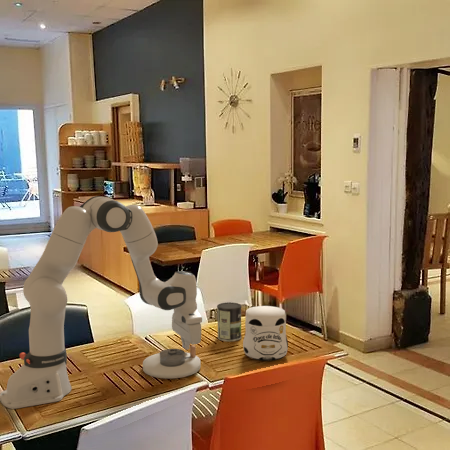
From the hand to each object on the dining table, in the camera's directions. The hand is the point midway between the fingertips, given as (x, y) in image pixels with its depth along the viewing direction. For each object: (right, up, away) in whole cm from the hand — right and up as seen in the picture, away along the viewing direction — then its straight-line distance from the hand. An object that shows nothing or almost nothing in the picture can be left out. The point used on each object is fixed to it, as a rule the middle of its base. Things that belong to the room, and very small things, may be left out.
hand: (185, 348), depth 220 cm
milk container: (+31, -4, +3) cm, 31 cm away
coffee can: (+17, -1, +25) cm, 30 cm away
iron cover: (-4, -3, -10) cm, 11 cm away
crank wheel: (-5, -6, -10) cm, 12 cm away
